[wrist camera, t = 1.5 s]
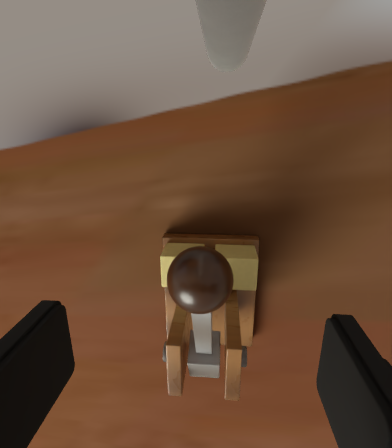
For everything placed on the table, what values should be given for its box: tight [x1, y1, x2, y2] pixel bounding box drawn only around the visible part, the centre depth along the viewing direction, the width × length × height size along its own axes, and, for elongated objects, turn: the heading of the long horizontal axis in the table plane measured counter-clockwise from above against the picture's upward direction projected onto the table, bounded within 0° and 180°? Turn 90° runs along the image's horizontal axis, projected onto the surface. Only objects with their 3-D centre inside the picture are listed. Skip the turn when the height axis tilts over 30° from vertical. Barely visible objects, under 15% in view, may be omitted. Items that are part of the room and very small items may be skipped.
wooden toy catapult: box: [162, 233, 259, 401], centre depth 24 cm, size 12×9×11 cm
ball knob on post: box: [167, 246, 234, 378], centre depth 17 cm, size 13×3×3 cm, turn 179°
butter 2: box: [215, 244, 258, 291], centre depth 26 cm, size 3×4×3 cm
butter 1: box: [160, 243, 205, 287], centre depth 26 cm, size 3×4×3 cm
